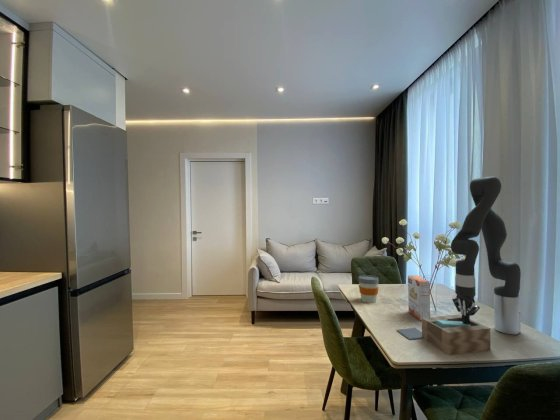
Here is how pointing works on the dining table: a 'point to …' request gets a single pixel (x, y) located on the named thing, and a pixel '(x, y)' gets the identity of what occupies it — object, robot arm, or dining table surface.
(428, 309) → the cracker box
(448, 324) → the teal block
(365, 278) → the reusable coffee cup
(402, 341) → the dining table surface
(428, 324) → the board
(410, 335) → the grey mat
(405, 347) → the dining table surface
